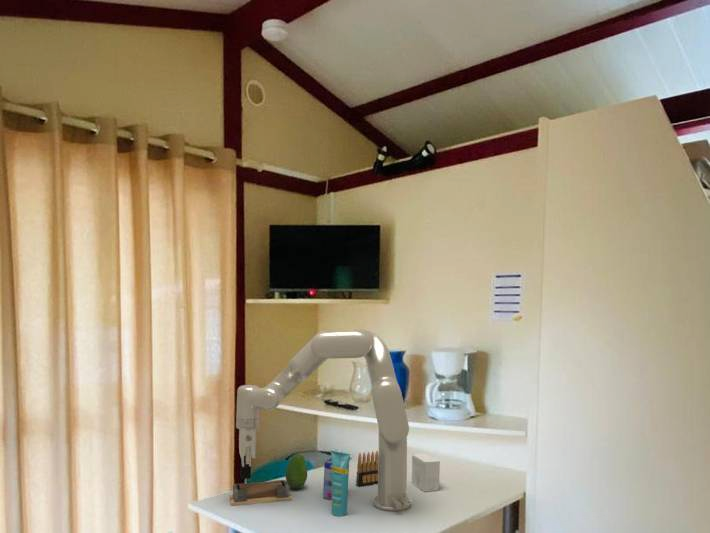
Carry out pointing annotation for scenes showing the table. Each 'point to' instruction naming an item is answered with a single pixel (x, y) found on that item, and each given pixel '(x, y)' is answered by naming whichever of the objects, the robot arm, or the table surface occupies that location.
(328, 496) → the ink cartridge box
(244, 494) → the rail
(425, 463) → the skincare box
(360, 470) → the ammunition clip
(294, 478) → the avocado
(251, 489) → the slat
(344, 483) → the tube
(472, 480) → the table surface
